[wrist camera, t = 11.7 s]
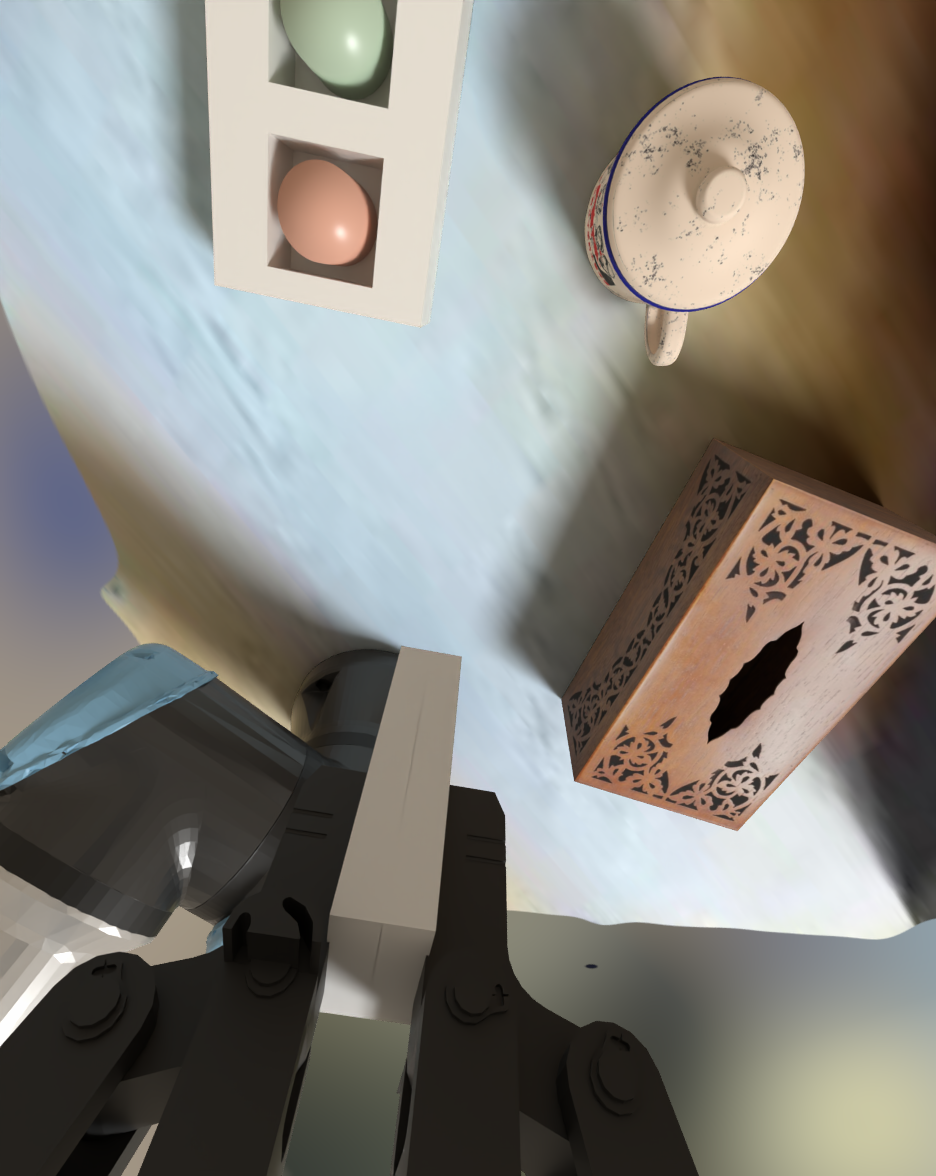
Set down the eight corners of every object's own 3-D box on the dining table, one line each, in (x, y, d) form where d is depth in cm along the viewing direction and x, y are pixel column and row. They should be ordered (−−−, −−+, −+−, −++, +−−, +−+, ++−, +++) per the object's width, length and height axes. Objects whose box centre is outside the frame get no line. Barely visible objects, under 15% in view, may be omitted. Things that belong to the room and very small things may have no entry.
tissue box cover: (697, 741, 53) (737, 831, 44) (561, 697, 51) (574, 781, 43) (881, 505, 41) (985, 563, 32) (712, 437, 39) (773, 478, 31)
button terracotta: (373, 273, 34) (359, 271, 30) (299, 257, 34) (276, 254, 30) (381, 183, 32) (367, 170, 28) (302, 166, 32) (277, 150, 28)
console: (429, 323, 36) (420, 327, 32) (249, 285, 36) (214, 285, 31) (512, -286, 25) (516, -411, 20) (244, -356, 24) (187, -501, 20)
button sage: (388, 108, 30) (374, 84, 27) (304, 89, 30) (279, 62, 26) (398, -8, 28) (383, -50, 24) (308, -29, 28) (281, -75, 24)
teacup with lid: (585, 131, 31) (627, 54, 21) (748, 124, 31) (872, 41, 21) (572, 357, 37) (600, 383, 27) (709, 354, 37) (792, 378, 26)
